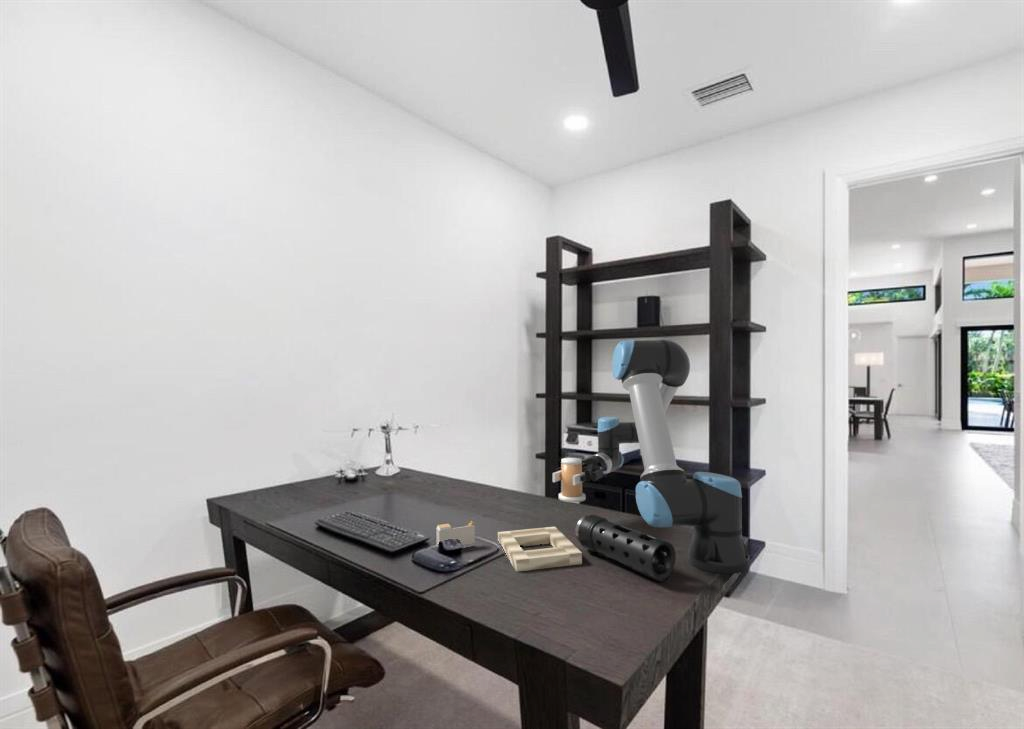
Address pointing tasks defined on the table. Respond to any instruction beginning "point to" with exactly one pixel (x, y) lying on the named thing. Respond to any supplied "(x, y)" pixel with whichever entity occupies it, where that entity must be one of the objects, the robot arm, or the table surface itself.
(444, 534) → the model
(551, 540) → the square wooden frame
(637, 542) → the muzzle brake
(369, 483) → the table surface
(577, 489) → the orange white flanged cylinder
